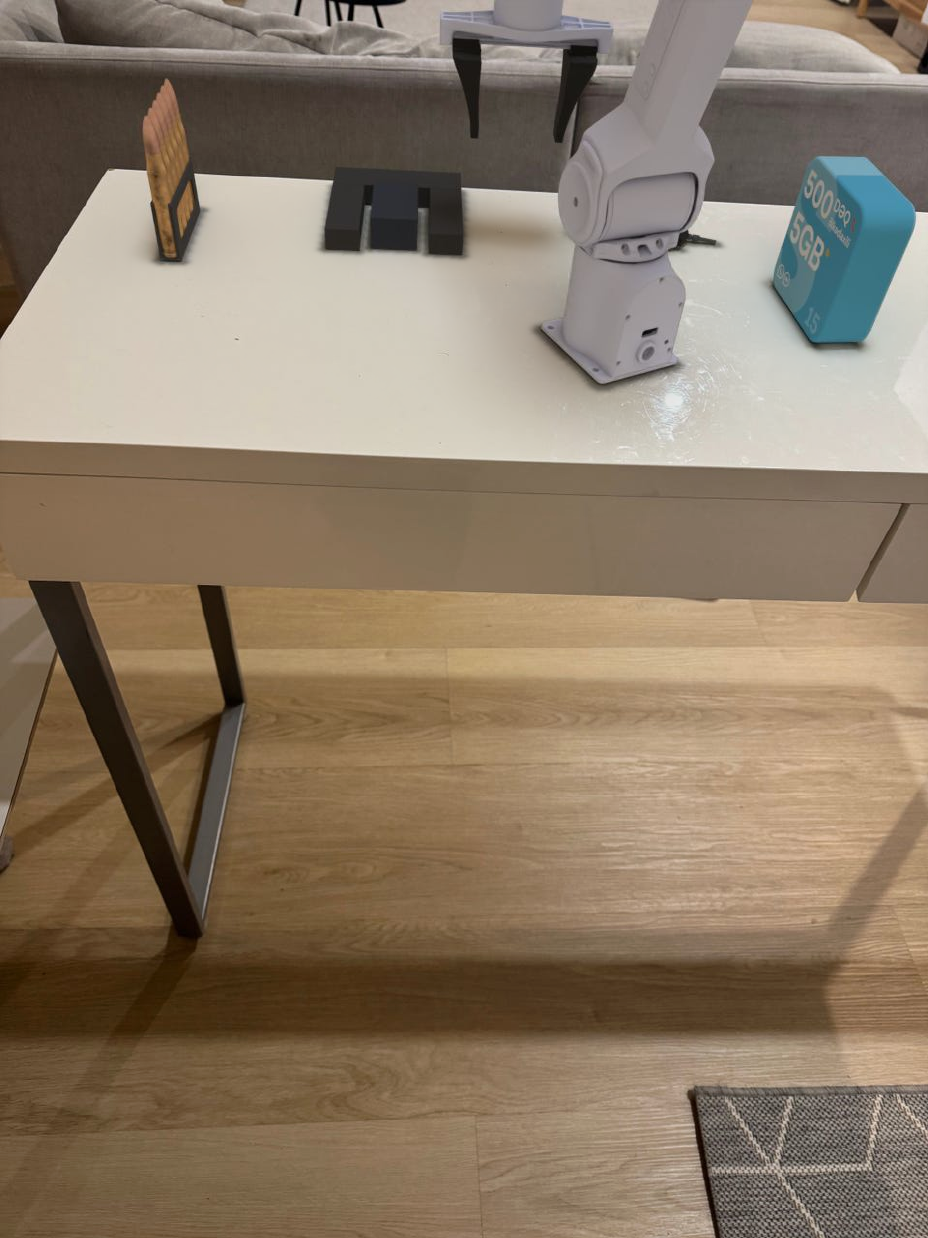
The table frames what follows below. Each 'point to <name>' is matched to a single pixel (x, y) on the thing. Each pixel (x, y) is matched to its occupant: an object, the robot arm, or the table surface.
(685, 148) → the robot arm
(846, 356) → the table surface
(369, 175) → the black flat u-shaped piece
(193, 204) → the ammunition clip
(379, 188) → the black rectangular block
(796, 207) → the data package
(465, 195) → the table surface
